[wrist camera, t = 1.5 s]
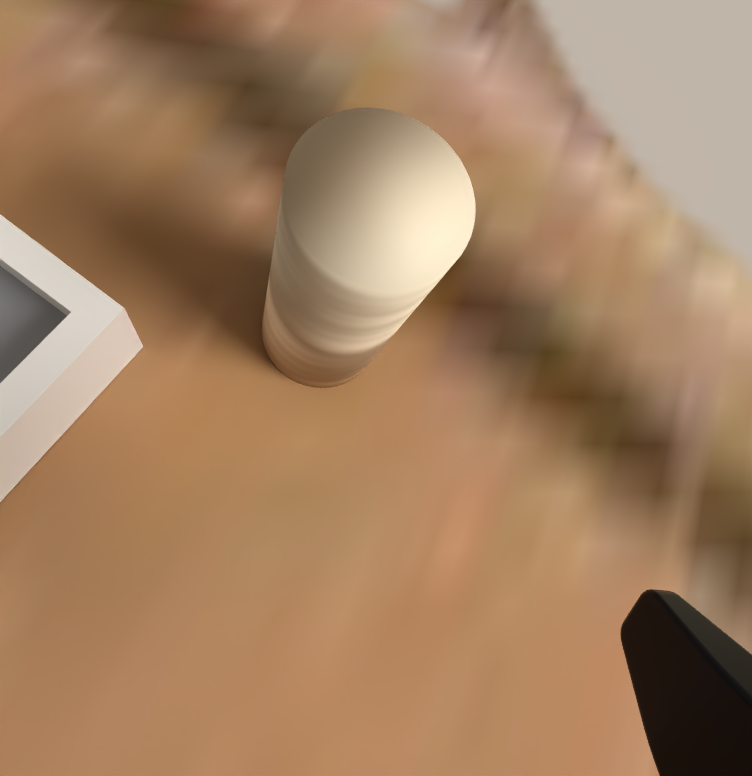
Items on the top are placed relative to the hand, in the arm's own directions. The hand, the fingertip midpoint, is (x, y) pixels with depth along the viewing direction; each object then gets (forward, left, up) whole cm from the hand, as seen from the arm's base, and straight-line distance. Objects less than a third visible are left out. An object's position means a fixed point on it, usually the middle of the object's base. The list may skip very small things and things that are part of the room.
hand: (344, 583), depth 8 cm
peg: (+4, -7, -13) cm, 16 cm away
